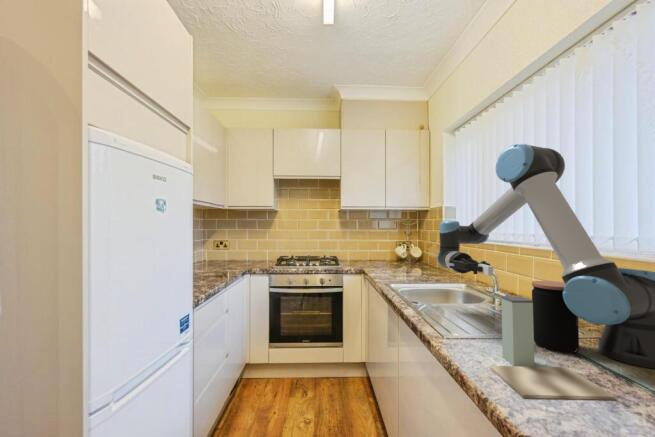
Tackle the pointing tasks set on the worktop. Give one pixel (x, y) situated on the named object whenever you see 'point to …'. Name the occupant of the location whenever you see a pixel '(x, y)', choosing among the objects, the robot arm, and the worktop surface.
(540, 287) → the coffee jar
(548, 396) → the birch board
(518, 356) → the sage block
